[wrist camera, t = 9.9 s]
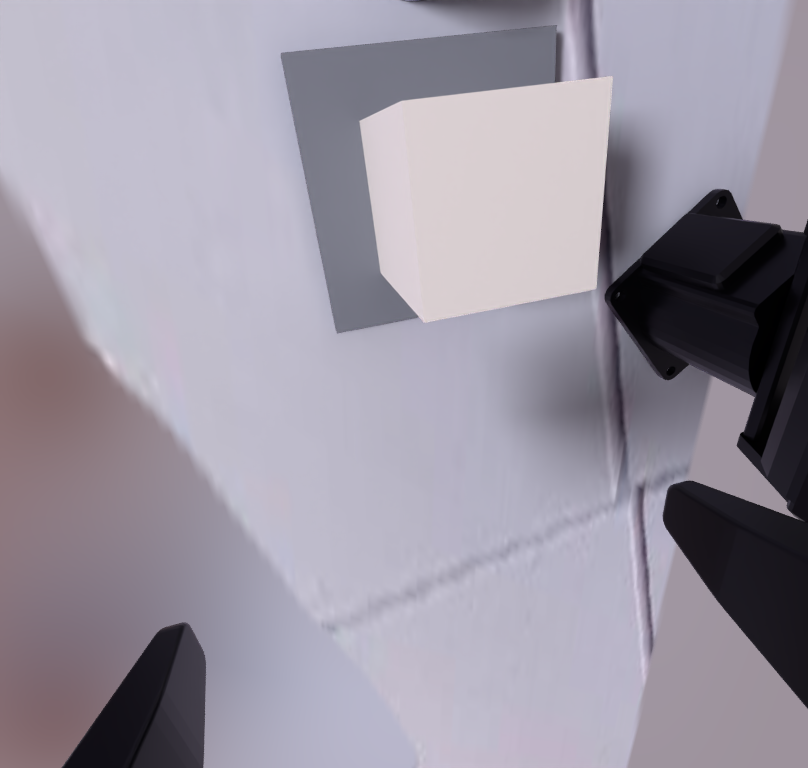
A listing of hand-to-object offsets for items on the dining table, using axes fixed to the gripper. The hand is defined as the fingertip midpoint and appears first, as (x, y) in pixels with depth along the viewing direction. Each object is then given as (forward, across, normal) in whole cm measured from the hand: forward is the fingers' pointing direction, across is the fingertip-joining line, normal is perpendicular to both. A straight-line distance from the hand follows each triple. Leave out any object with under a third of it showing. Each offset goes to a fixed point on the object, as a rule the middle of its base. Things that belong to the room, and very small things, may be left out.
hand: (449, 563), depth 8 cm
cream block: (+11, -4, -5) cm, 13 cm away
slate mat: (+12, -4, -5) cm, 14 cm away
